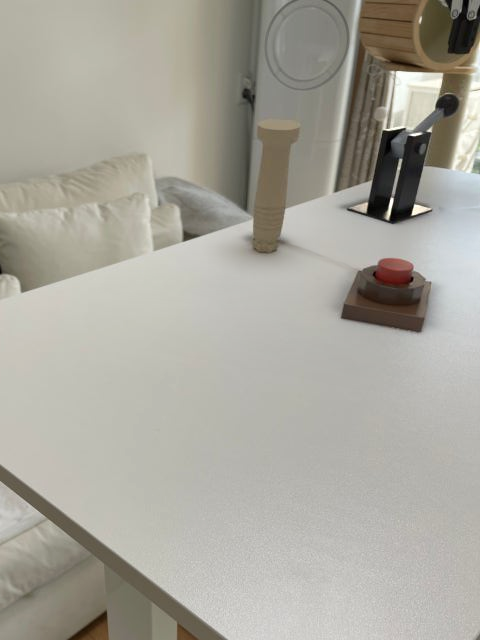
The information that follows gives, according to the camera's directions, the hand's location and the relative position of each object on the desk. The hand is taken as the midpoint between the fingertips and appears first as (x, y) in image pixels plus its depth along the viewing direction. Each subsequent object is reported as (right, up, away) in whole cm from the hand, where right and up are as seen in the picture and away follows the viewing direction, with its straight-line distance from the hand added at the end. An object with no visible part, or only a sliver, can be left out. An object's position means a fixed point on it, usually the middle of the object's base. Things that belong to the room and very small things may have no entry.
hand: (458, 53), depth 89 cm
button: (-16, -36, -21) cm, 45 cm away
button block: (-17, -38, -19) cm, 46 cm away
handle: (-27, -29, -5) cm, 40 cm away
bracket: (-7, -20, +7) cm, 23 cm away
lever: (-3, -10, +4) cm, 11 cm away
